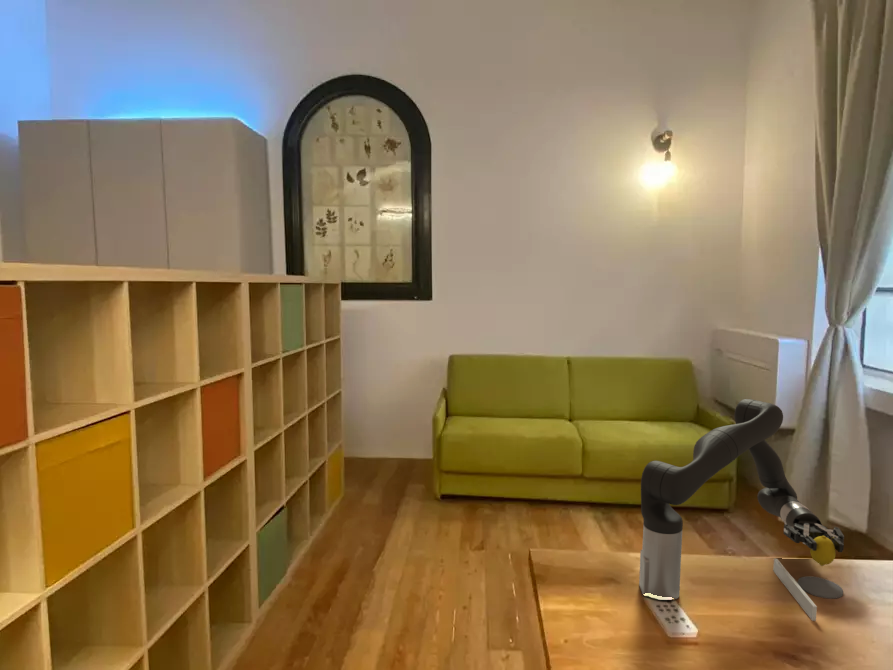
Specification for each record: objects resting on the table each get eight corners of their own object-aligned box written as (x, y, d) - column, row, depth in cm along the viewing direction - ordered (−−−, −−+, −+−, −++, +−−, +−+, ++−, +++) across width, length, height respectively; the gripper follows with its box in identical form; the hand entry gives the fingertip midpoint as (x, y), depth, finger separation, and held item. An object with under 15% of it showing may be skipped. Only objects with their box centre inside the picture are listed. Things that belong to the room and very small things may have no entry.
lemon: (838, 572, 156) (840, 541, 155) (813, 570, 157) (815, 539, 156) (829, 561, 161) (831, 532, 160) (805, 559, 162) (807, 530, 161)
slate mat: (807, 597, 155) (807, 594, 155) (791, 577, 165) (791, 575, 165) (850, 600, 154) (850, 597, 154) (831, 579, 164) (831, 577, 164)
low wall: (812, 620, 145) (813, 606, 145) (773, 570, 169) (774, 558, 168) (815, 620, 145) (816, 606, 144) (776, 571, 168) (777, 558, 168)
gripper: (773, 505, 173) (798, 531, 156) (828, 508, 171) (860, 535, 154) (771, 531, 174) (796, 560, 157) (826, 534, 172) (858, 564, 155)
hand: (828, 547), depth 156 cm, fingers closed on lemon, 5 cm apart
